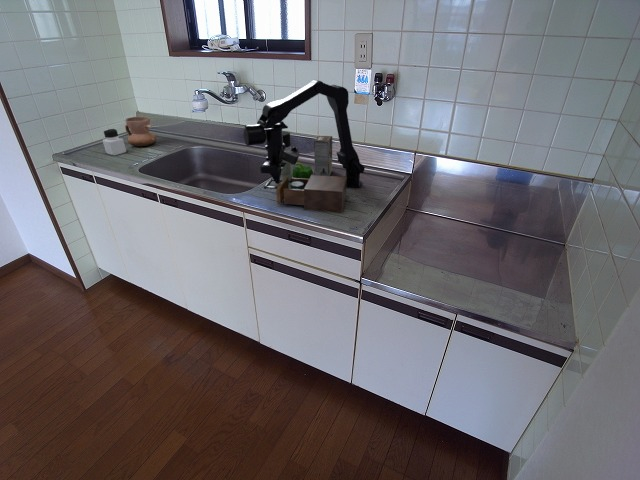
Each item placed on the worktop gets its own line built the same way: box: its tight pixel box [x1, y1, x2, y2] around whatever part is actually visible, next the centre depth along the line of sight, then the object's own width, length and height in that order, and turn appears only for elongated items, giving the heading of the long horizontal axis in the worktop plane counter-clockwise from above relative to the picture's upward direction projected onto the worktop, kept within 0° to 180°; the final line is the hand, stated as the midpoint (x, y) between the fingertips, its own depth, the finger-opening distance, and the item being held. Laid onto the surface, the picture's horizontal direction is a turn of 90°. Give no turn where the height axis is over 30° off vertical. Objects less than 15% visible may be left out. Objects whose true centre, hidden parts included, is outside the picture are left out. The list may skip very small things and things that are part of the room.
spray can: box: [280, 130, 293, 182], centre depth 154 cm, size 7×7×20 cm
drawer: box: [263, 176, 309, 206], centre depth 139 cm, size 18×13×6 cm
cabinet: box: [303, 174, 347, 213], centre depth 137 cm, size 14×14×8 cm
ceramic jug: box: [124, 116, 157, 148], centre depth 202 cm, size 18×14×14 cm
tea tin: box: [290, 181, 304, 190], centre depth 138 cm, size 5×5×5 cm
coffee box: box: [313, 135, 333, 176], centre depth 161 cm, size 9×6×16 cm
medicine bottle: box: [101, 128, 127, 156], centre depth 190 cm, size 7×7×12 cm
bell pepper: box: [292, 162, 314, 179], centre depth 150 cm, size 8×8×10 cm
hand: (277, 183), depth 138 cm, fingers closed
